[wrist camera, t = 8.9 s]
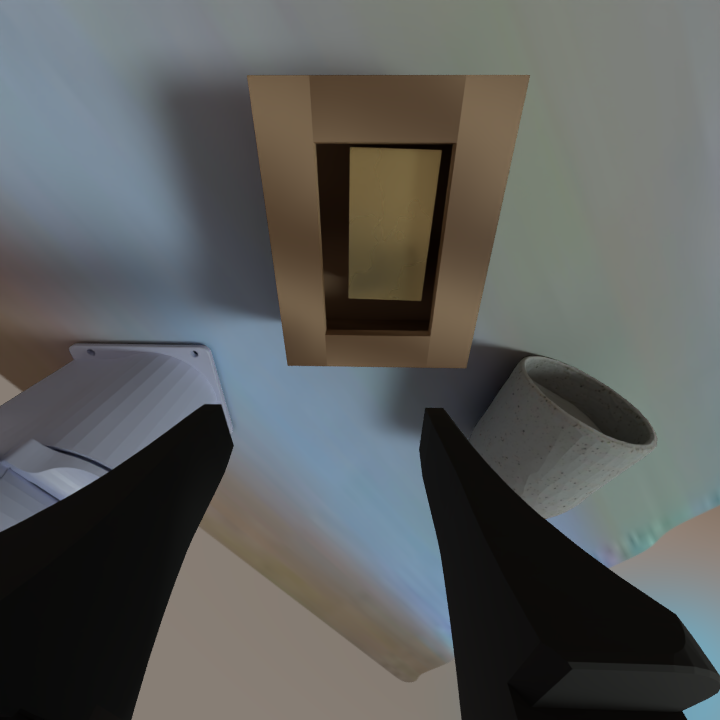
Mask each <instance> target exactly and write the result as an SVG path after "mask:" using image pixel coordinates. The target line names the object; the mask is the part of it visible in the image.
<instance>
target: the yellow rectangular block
mask: <svg viewBox="0 0 720 720" xmlns="http://www.w3.org/2000/svg"><path fill="white" fill-rule="evenodd" d="M441 153H442V150H423V149H393V148H363V147H350V193H349V296H348V298H353V299H381V300H409V301H421V298H422V291H423V284H424V276H425V269H426V262H427V255H428V247H429V240H430V233H431V226H432V218H433V211H434V204H435V197H436V190H437V182H438V175H439V168H440V161H441Z"/></svg>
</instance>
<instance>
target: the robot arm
mask: <svg viewBox="0 0 720 720" xmlns="http://www.w3.org/2000/svg"><path fill="white" fill-rule="evenodd" d="M92 350H93V351H94V352H93V351H92ZM69 351H70V353H71V355H72V357H73V359H74V360H73V361H71V362H70V363H68V364H66V365H65V366H63V367H62V368H60V369H58V370H57V371H55V372H54V373H52V374H51V375H49V376H47V377H46V378H44V379H43V380H41V381H39V382H38V383H36V384H35V385H33V386H31V387H30V388H28V389H27V390H25V391H23V392H22V393H20V394H19V395H17V396H15V397H14V398H12V399H11V400H9V401H7V402H6V403H4V404H3V405H1V406H0V720H131V719H132V715H133V712H134V708H135V705H136V701H137V698H138V694H139V691H140V688H141V684H142V681H143V677H144V674H145V671H146V667H147V664H148V661H149V658H150V654H151V651H152V648H153V645H154V642H155V639H156V636H157V633H158V630H159V627H160V624H161V621H162V618H163V615H164V612H165V609H166V606H167V604H168V601H169V598H170V595H171V592H172V589H173V587H174V584H175V581H176V578H177V576H178V573H179V571H180V568H181V565H182V563H183V560H184V558H185V555H186V552H187V550H188V548H189V545H190V543H191V541H192V538H193V536H194V534H195V532H196V530H197V528H198V526H199V524H200V522H201V520H202V518H203V516H204V514H205V512H206V510H207V508H208V506H209V504H210V502H211V500H212V498H213V496H214V494H215V492H216V489H217V487H218V485H219V483H220V481H221V479H222V477H223V475H224V473H225V470H226V467H227V464H228V462H229V459H230V455H231V452H232V449H233V446H234V445H233V442H232V438H231V435H230V434H231V433H232V431H233V426H232V422H231V419H230V415H229V412H228V408H227V405H226V401H225V398H224V394H223V391H222V387H221V384H220V380H219V377H218V373H217V370H216V366H215V363H214V359H213V356H212V352H211V350H210V349H209V348H208V347H207V346H204V345H157V344H86V343H77V344H74V345H72V346H70V347H69ZM193 351H196V352H197V353H198V354H195V353H194V352H193ZM419 451H420V460H421V468H422V476H423V481H424V485H425V489H426V494H427V498H428V502H429V506H430V510H431V514H432V519H433V523H434V527H435V531H436V535H437V539H438V544H439V549H440V554H441V560H442V567H443V574H444V580H445V587H446V594H447V602H448V609H449V616H450V624H451V632H452V640H453V648H454V656H455V664H456V672H457V681H458V690H459V700H460V709H461V718H462V720H687V718H686V717H685V715H684V714H683V712H682V711H683V710H685V709H687V708H689V707H691V706H693V705H696V704H697V703H700V702H702V701H704V700H706V699H708V698H710V697H712V696H713V695H715V694H716V693H718V691H719V690H720V675H719V674H718V673H717V671H716V669H715V668H714V667H713V665H712V664H711V662H710V661H709V659H708V658H707V656H706V655H705V654H704V652H703V651H702V649H701V648H700V646H699V645H698V644H697V642H696V641H695V639H694V638H693V636H692V635H691V634H690V632H689V631H688V630H687V628H686V627H685V626H684V624H683V623H682V622H681V621H680V619H679V618H678V617H677V615H676V614H674V613H673V612H671V611H670V610H669V609H667V608H666V607H664V606H662V605H661V604H659V603H658V602H657V601H655V600H653V599H652V598H651V597H649V596H648V595H646V594H645V593H643V592H642V591H640V590H639V589H637V588H636V587H634V586H633V585H631V584H630V583H628V582H627V581H625V580H624V579H622V578H621V577H619V576H618V575H617V574H615V573H614V572H612V571H611V570H610V569H608V568H607V567H606V566H604V565H603V564H602V563H600V562H599V561H598V560H596V559H595V558H593V557H592V556H591V555H589V554H588V553H587V552H585V551H584V550H583V549H581V548H580V547H579V546H578V545H576V544H575V543H574V542H572V541H571V540H570V539H569V538H567V537H566V536H565V535H564V534H563V533H561V532H560V531H559V530H558V529H556V528H555V527H554V526H553V525H552V524H550V523H549V522H548V521H547V520H545V519H544V518H543V517H542V516H541V515H540V514H538V513H537V512H536V511H535V510H534V509H533V508H532V507H530V506H529V505H528V504H527V503H526V502H525V501H524V500H523V499H522V498H521V497H520V496H519V495H518V494H517V493H516V492H515V491H514V490H512V489H511V488H510V487H509V486H508V485H507V483H506V482H505V481H504V480H503V479H502V478H501V477H500V476H499V475H498V474H497V473H496V472H495V471H494V470H493V469H492V468H491V467H490V465H489V464H488V463H487V462H486V461H485V460H484V459H483V458H482V456H481V455H480V454H479V453H478V452H477V450H476V449H475V448H474V447H473V446H472V445H471V443H470V442H469V441H468V440H467V438H466V437H465V436H464V435H463V433H462V432H461V431H460V430H459V428H458V427H457V426H456V424H455V423H454V422H453V420H452V419H451V418H450V416H449V415H448V414H447V412H446V411H445V410H444V409H443V408H425V414H424V421H423V427H422V434H421V441H420V448H419Z"/></svg>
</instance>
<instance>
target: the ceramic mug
mask: <svg viewBox="0 0 720 720" xmlns="http://www.w3.org/2000/svg"><path fill="white" fill-rule="evenodd" d="M469 442H470V443H471V445H472V446H473V447H474V448H475V449H476V450H477V452H478V453H479V454H480V455H481V456H482V458H483V459H484V460H485V461H486V462H487V463H488V464H489V465H490V467H491V468H492V469H493V470H494V471H495V472H496V473H497V474H498V475H499V476H500V477H501V478H502V479H503V480H504V481H505V482H506V483H507V485H508V486H509V487H510V488H511V489H512V490H514V491H515V492H516V493H517V494H518V495H519V496H520V497H521V498H522V499H523V500H524V501H525V502H526V503H527V504H528V505H529V506H530V507H532V508H533V509H534V510H535V511H536V512H537V513H538V514H540V515H541V516H542V517H543V518H544V519H547V518H551V517H554V516H557V515H560V514H562V513H565V512H567V511H568V510H570V509H572V508H574V507H575V506H577V505H578V504H580V503H581V502H582V501H583V500H584V499H586V498H587V497H588V496H589V495H591V494H592V493H593V492H595V491H596V490H598V489H599V488H601V487H602V486H604V485H605V484H607V483H608V482H609V481H611V480H612V479H614V478H615V477H616V476H618V475H619V474H620V473H622V472H623V471H625V470H626V469H628V468H629V467H631V466H632V465H634V464H635V463H637V462H638V461H640V460H641V459H642V458H644V457H645V456H647V455H648V454H649V453H651V452H652V451H653V450H654V449H655V447H656V446H657V436H656V432H655V431H654V429H653V427H652V426H651V424H650V423H649V421H648V420H647V419H646V418H645V417H644V416H643V415H642V414H641V412H640V411H639V410H638V409H637V408H635V407H634V406H633V405H632V404H631V403H629V402H628V401H627V400H626V399H624V398H623V397H622V396H620V395H619V394H618V393H616V392H615V391H614V390H612V389H611V388H610V387H608V386H606V385H605V384H603V383H601V382H600V381H598V380H597V379H595V378H593V377H591V376H590V375H588V374H586V373H584V372H583V371H581V370H579V369H577V368H575V367H572V366H569V365H567V364H564V363H562V362H560V361H557V360H554V359H550V358H546V357H541V356H528V357H525V358H523V359H522V360H521V361H520V362H519V363H518V364H517V366H516V367H515V369H514V370H513V372H512V374H511V375H510V377H509V378H508V380H507V381H506V382H505V384H504V385H503V386H502V388H501V389H500V391H499V392H498V394H497V395H496V397H495V398H494V400H493V402H492V403H491V405H490V406H489V408H488V409H487V411H486V412H485V414H484V415H483V416H482V417H481V419H480V420H479V422H478V423H477V425H476V426H475V428H474V429H473V432H472V434H471V437H470V439H469Z"/></svg>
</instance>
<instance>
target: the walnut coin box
mask: <svg viewBox="0 0 720 720" xmlns="http://www.w3.org/2000/svg"><path fill="white" fill-rule="evenodd" d="M529 78H530V75H247V79H248V86H249V93H250V100H251V107H252V114H253V122H254V129H255V136H256V143H257V150H258V157H259V164H260V171H261V179H262V186H263V193H264V200H265V207H266V214H267V221H268V229H269V236H270V243H271V250H272V257H273V264H274V271H275V279H276V286H277V293H278V300H279V307H280V314H281V321H282V329H283V336H284V343H285V350H286V357H287V364H288V366H351V367H417V368H466V367H467V362H468V358H469V353H470V349H471V344H472V339H473V335H474V330H475V326H476V321H477V316H478V312H479V307H480V303H481V298H482V293H483V289H484V284H485V280H486V275H487V270H488V266H489V261H490V257H491V252H492V248H493V243H494V238H495V234H496V229H497V225H498V220H499V215H500V211H501V206H502V202H503V197H504V192H505V188H506V183H507V179H508V174H509V169H510V165H511V160H512V156H513V151H514V146H515V142H516V137H517V133H518V128H519V123H520V119H521V114H522V110H523V105H524V101H525V96H526V91H527V87H528V82H529ZM350 147H363V148H393V149H423V150H442V153H441V161H440V168H439V175H438V182H437V190H436V197H435V204H434V211H433V218H432V226H431V233H430V240H429V247H428V255H427V262H426V269H425V276H424V284H423V291H422V298H421V301H409V300H381V299H353V298H348V296H349V193H350Z"/></svg>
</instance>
